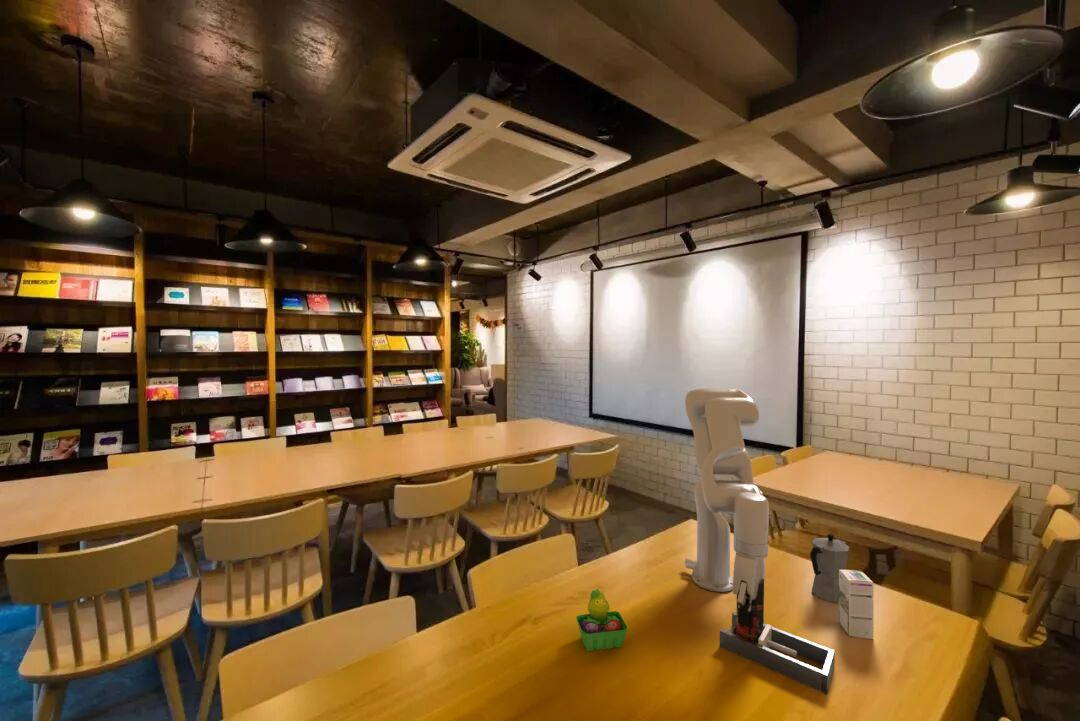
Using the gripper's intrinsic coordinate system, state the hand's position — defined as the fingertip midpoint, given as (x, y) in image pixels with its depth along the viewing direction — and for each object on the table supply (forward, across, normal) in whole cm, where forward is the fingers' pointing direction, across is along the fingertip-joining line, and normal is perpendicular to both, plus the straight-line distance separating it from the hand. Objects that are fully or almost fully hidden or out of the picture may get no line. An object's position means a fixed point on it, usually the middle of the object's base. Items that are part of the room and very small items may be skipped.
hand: (749, 618), depth 106 cm
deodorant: (+5, 0, 0) cm, 5 cm away
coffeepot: (+7, -38, +11) cm, 40 cm away
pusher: (+6, 0, +6) cm, 9 cm away
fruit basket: (+7, +22, -28) cm, 37 cm away
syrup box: (+7, -24, +19) cm, 31 cm away
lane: (+7, 0, +6) cm, 9 cm away
